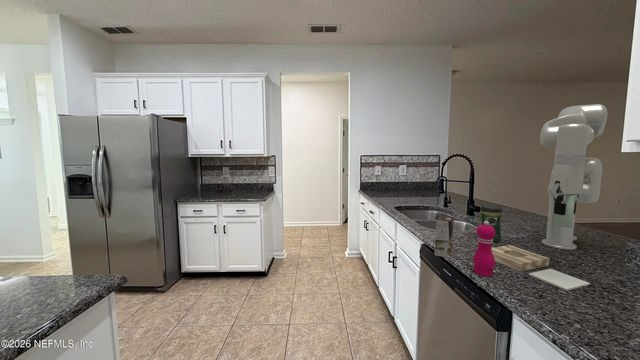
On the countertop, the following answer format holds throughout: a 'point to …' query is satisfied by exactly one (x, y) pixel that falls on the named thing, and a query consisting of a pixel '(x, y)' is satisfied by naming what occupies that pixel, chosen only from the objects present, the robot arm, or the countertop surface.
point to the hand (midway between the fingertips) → (564, 213)
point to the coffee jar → (492, 218)
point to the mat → (559, 279)
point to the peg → (568, 217)
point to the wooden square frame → (518, 258)
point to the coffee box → (444, 236)
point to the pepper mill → (484, 250)
